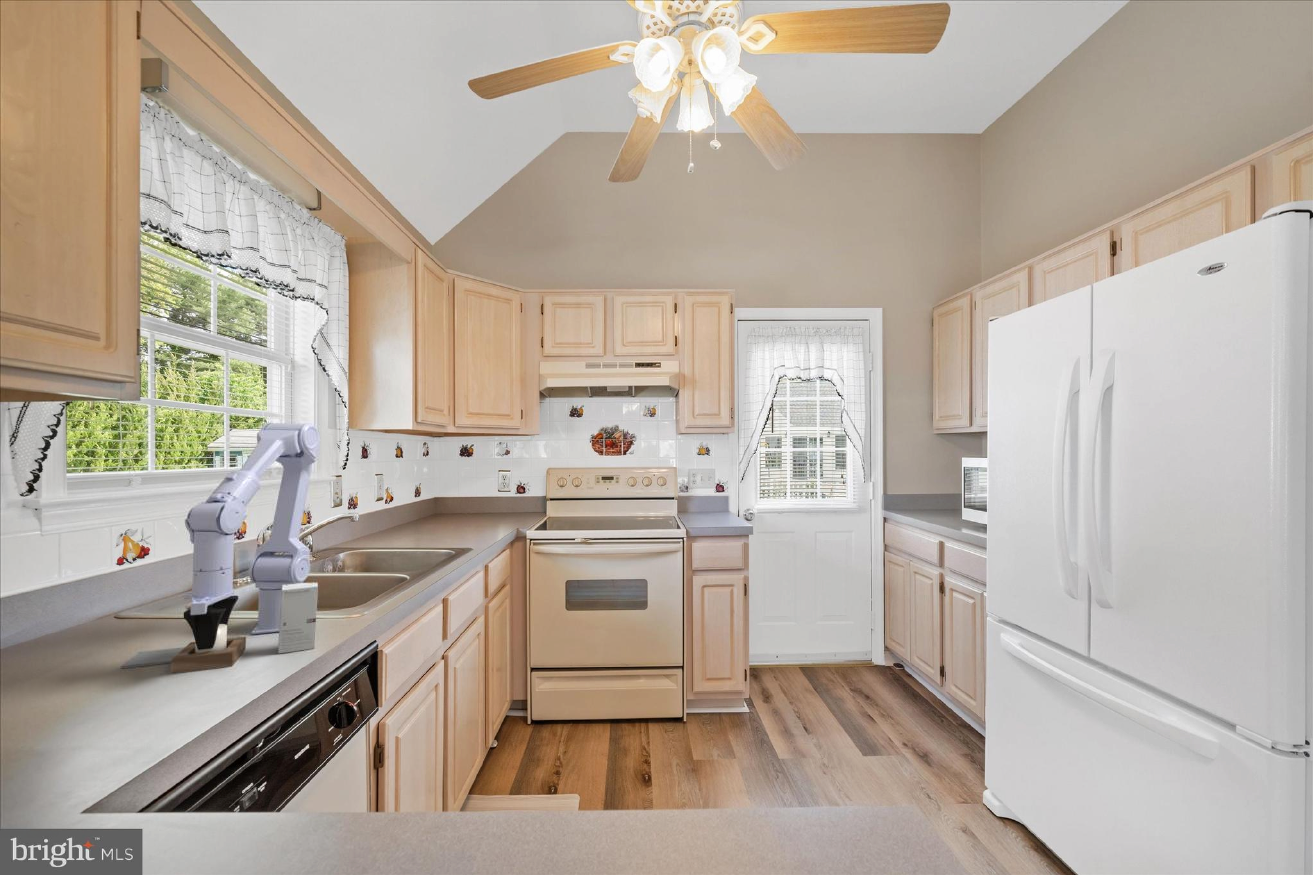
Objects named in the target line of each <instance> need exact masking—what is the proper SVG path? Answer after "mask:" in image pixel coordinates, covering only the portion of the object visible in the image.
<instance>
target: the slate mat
mask: <svg viewBox="0 0 1313 875" xmlns="http://www.w3.org/2000/svg"><path fill="white" fill-rule="evenodd" d="M185 647H186V646H184V647H175V648H165V649H156V650H155V649H154V650H146V651H145V650H144V651H139V652H137V653H136V654H135V655H134V656H132V657H131V658H129V659H128V660H127V661H126V662H124V663H123V664H122V665H120V669H129V668H137V667H145V666H146V667H147V666H155V665H163V664H172V659H173V658H174V657H175V656H176V655H177V654H178V653H179V652H180V651H182V650H183V649H184V648H185Z"/></svg>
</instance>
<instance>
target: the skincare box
mask: <svg viewBox="0 0 1313 875" xmlns="http://www.w3.org/2000/svg"><path fill="white" fill-rule="evenodd" d="M318 590H319V585H318V581H315V582H303V583H297V584H288V585H282V591H281V608H280V623H279V632H278V647H277V654H284V653H291V652H299V651H305V650H306V651H307V650H312V649H314V648H316V646H315V645H316V626H317V611H318V610H317V609H318V608H317V606H318V595H319V594H318V593H319V592H318Z"/></svg>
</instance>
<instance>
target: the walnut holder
mask: <svg viewBox="0 0 1313 875" xmlns="http://www.w3.org/2000/svg"><path fill="white" fill-rule="evenodd" d="M184 647H185V648H184V649H183V650H182V651H180V652H179V653H178V654H177V655H176V656H175V657H174V658H173V659H172V663H171V675H172V674H173V675H174V674H179V673H180V674H181V673H188V672H189V673H190V672H196V671H204V670H205V671H206V670H212V669H213V670H214V669H221V668H222V667H223V668H229V667H230V668H231V667H233V666H234V665H235V664H236V663H237V661H238V660H239V658H240V657H241V656H242V655H243V653H244V652H245V651H246V650H247V649H246V648H247V636H238V637H230V638H228V637H227V647H226V650H224V651H215V652H206V653H197V654H195V641H191V642H189V643H188V644H187V645H186V646H184Z"/></svg>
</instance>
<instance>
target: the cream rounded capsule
mask: <svg viewBox="0 0 1313 875" xmlns="http://www.w3.org/2000/svg"><path fill="white" fill-rule="evenodd" d="M227 636H228V624H227V625H225V624H219V626H218V631H217V636H216V641H215V644H214V647H213V648H212V649H204V650H198V649H197V646H196V642H195V641H194V642H195V654H197V653H206V652H215V651H224V650H226V647H227V639H228V637H227Z"/></svg>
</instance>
